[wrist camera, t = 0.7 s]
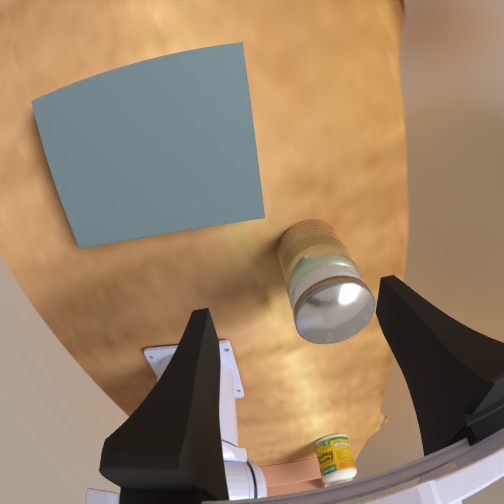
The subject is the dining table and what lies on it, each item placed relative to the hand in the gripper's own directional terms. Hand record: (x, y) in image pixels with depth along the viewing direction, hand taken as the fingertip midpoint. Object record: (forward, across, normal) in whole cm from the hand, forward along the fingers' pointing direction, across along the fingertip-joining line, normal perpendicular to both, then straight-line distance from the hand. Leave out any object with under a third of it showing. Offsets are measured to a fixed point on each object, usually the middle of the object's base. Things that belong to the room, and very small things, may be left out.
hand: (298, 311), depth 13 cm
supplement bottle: (+10, -6, +40) cm, 42 cm away
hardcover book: (+10, +6, -6) cm, 13 cm away
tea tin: (+10, -2, +4) cm, 10 cm away
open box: (+10, +2, +57) cm, 58 cm away
